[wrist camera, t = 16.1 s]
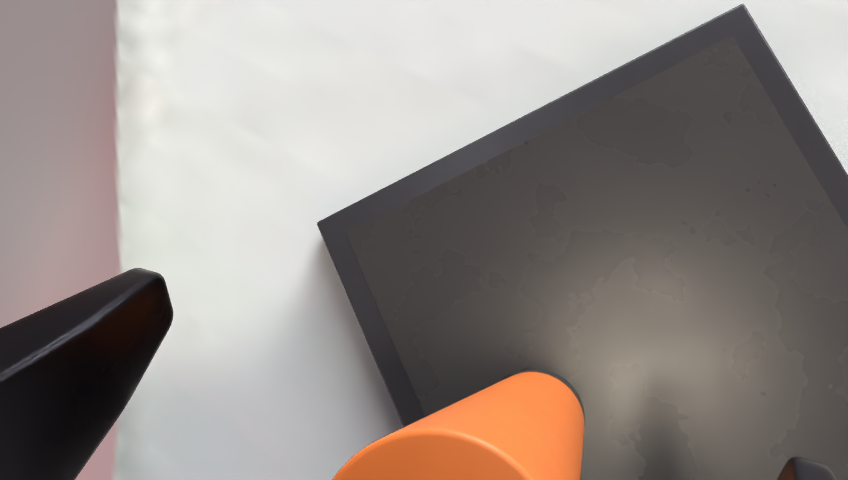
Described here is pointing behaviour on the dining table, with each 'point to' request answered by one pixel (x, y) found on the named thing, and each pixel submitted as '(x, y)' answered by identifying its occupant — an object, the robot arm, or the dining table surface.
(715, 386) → the tablet
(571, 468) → the stylus
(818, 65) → the dining table surface
